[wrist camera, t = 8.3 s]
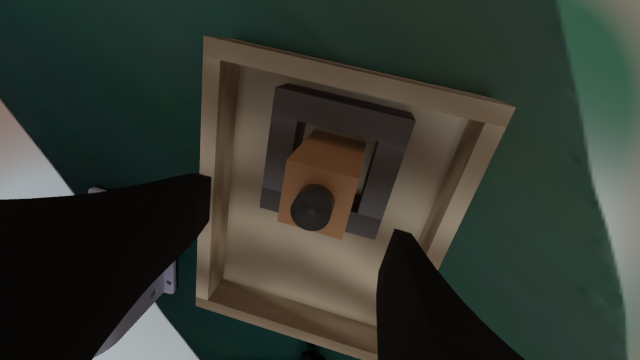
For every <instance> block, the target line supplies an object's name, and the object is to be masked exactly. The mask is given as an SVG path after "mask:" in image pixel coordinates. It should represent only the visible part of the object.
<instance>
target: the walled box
mask: <svg viewBox="0 0 640 360" xmlns="http://www.w3.org/2000/svg"><path fill="white" fill-rule="evenodd" d="M515 109H516V107H514V106H511V105H509V104H506V103H504V102H501V101H498V100H496V99H493V98H491V97H486V96H482V95H477V94H473V93H469V92H464V91H460V90H456V89H451V88H447V87H442V86H438V85H434V84H429V83H425V82H420V81H416V80H412V79H407V78H403V77H399V76H394V75H390V74H385V73H381V72H377V71H372V70H368V69H364V68H359V67H355V66H350V65H346V64H342V63H337V62H333V61H329V60H324V59H320V58H315V57H311V56H307V55H302V54H298V53H293V52H289V51H285V50H280V49H276V48H272V47H267V46H263V45H258V44H254V43H250V42H245V41H241V40H237V39H230V38H221V37H211V36H204V40H203V74H202V108H201V142H200V174H203V175H206V176H210V177H212V180H211V199H210V218H209V222H208V224H207V225H206V226H205V228H204V229H203V231H202V232H201V233H200V235H199V236H198V245H197V279H196V306H198V307H201V308H205V309H208V310H211V311H214V312H217V313H220V314H223V315H226V316H229V317H232V318H235V319H238V320H242V321H245V322H248V323H251V324H254V325H257V326H260V327H263V328H266V329H269V330H272V331H275V332H278V333H282V334H285V335H288V336H291V337H294V338H297V339H300V340H303V341H306V342H309V343H312V344H315V345H319V346H322V347H325V348H328V349H331V350H334V351H337V352H340V353H343V354H346V355H349V356H352V357H355V358H359V359H362V360H378V351H377V318H376V290H377V280H378V271H379V268H380V266H381V263H382V260H383V258H384V255H385V252H386V250H387V247H388V244H389V242H390V239H391V236H392V234H393V231H394V228H395V229H399V230H402V231H406V232H409V233H411V234H412V235H413V236H414V238H415V239H416V240H417V242H418V243H419V245H420V246H421V248H422V249H423V251H424V252H425V253H426V255H427V256H428V258H429V259H430V261H431V262H432V263H433V265H434V266H435V267H436V269H437V270H438V269H439V267H440V265H441V263H442V260H443V258H444V256H445V254H446V252H447V250H448V248H449V246H450V244H451V242H452V240H453V238H454V235H455V233H456V231H457V229H458V227H459V225H460V223H461V221H462V219H463V217H464V215H465V213H466V211H467V208H468V206H469V204H470V202H471V200H472V198H473V196H474V194H475V192H476V190H477V188H478V186H479V183H480V181H481V179H482V177H483V175H484V173H485V171H486V169H487V167H488V165H489V163H490V161H491V158H492V156H493V154H494V152H495V150H496V148H497V146H498V144H499V142H500V140H501V138H502V136H503V133H504V131H505V129H506V127H507V125H508V123H509V121H510V119H511V117H512V115H513V113H514V111H515ZM314 129H315V130H319V131H323V132H327V133H331V134H335V135H339V136H343V137H347V138H351V139H355V140H359V141H363V142H366V147H365V153H364V158H363V163H362V169H361V174H360V179H359V183H358V186H357V190H356V193H355V197H354V200H353V204H352V207H351V211H350V214H349V218H348V221H347V225H346V229H345V232H344V236H343V239H342V240H341V239H337V238H334V237H330V236H327V235H323V234H320V233H316V232H313V231H307V230H304V229H302V228H299V227H295V226H292V225H288V224H285V223H281V222H278V221H277V218H278V211H279V205H280V199H281V193H282V187H283V180H284V174H285V168H286V162H287V159H288V158H289V157H290V156H291V154H292V153H293V152H294V151H295V150H296V149H297V148H298V147H299V146H300V145H301V144H302V142H303V141H304V140H305V139H306V138H307V137H308V136H309V135H310V134H311V133H312V132H313V130H314Z"/></svg>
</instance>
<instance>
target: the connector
mask: <svg viewBox="0 0 640 360" xmlns="http://www.w3.org/2000/svg"><path fill="white" fill-rule="evenodd" d="M365 147H366V142H363V141H359V140H355V139H351V138H347V137H343V136H339V135H335V134H331V133H327V132H323V131H319V130H315V129H314V130H313V132H312V133H311V134H310V135H309V136H308V137H307V138H306V139H305V140H304V141H303V142H302V144H301V145H300V146H299V147H298V148H297V149H296V150H295V151H294V152H293V153H292V154H291V156H290V157H289V158H288V159H287V162H286V168H285V174H284V180H283V187H282V193H281V199H280V205H279V211H278V218H277V221H278V222H281V223H285V224H288V225H292V226H295V227H299V228H302V229H304V230H307V231H313V232H316V233H320V234H323V235H327V236H330V237H334V238H337V239H341V240H342V239H343V236H344V232H345V229H346V225H347V221H348V218H349V214H350V211H351V207H352V204H353V200H354V197H355V193H356V190H357V186H358V183H359V179H360V174H361V169H362V163H363V158H364V153H365Z"/></svg>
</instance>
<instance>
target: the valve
mask: <svg viewBox="0 0 640 360" xmlns="http://www.w3.org/2000/svg"><path fill="white" fill-rule="evenodd" d="M301 360H326V359H325V358H324V357H319V358H316V355H315V352H314V351H312V350H311V351H306V352H303V353H302V355H301Z"/></svg>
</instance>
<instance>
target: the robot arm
mask: <svg viewBox="0 0 640 360" xmlns="http://www.w3.org/2000/svg"><path fill="white" fill-rule="evenodd" d="M211 180H212V177H210V176H206V175H203V174H199V173H193V174H186V175H181V176H176V177H172V178H167V179H163V180H158V181H154V182H149V183H145V184H140V185H135V186H130V187H125V188H120V189H114V190H109V191H107V190H104V189H100V188H97V187H92V188H90V189H89V190H88V194H80V195H72V196H60V197H47V198H32V199H9V200H0V360H92V359H93V358H94V357H96V356H98V355H100V354H102V353H103V352H105V351H106V350H108V349H109V348H111V347H112V346H113V345H114V344H116V343H117V342H118V341H119V340H120V339H121V338H122V337H123V335H124V334H125V333H126V332H127V331H128V330H129V329H130V328H131V327H132V326H133V325H134V324H135V323H136V321H137V320H138V319H139V318H140V317H141V316H142V315H143V314H144V313H145V312H146V311H147V310H148V308H149V307H150V306H151V305H152V304H153V303H154V302H155V301H156V300H157V299H158V298H159V297H160V295H161V294H162V293H163V292H165V293H168V294H173V293H174V292H175V291H176V259H177V258H178V257H179V256H180V255H181V254H182V253H183V252H184V251H185V250H186V249H187V248H188V247H189V246H190V245H191V244H192V243H193V242H194V241H195V240H196V238H197V237H198V236H199V235H200V233H201V232H202V231H203V229H204V228H205V226H206V225H207V224H208V222H209V218H210V199H211ZM376 318H377V351H378V360H525V359H524V358H522V357H521V356H520V355H519V354H518V353H516V352H515V351H514V350H513V349H512V348H511V347H509V346H508V345H507V344H506V343H505V342H504V341H503V340H502V339H501V338H500V337H498V336H497V335H496V334H495V333H494V332H493V331H492V330H491V329H490V328H489V327H488V326H487V325H486V324H485V323H483V322H482V321H481V320H480V319H479V317H478V316H477V315H476V314H475V313H474V312H473V311H472V310H471V309H470V308H469V307H468V306H467V305H466V304H465V303H464V302H463V301H462V299H461V298H460V297H459V296H458V295H457V294H456V293H455V291H454V290H453V289H452V288H451V287H450V285H449V284H448V283H447V282H446V281H445V279H444V278H443V277H442V275H441V274H440V273H439V271H438V270H437V269H436V267H435V266H434V265H433V263H432V262H431V261H430V259H429V258H428V256H427V255H426V253H425V252H424V251H423V249H422V248H421V246H420V245H419V243H418V242H417V240H416V239H415V238H414V236H413V235H412V234H411V233H409V232H406V231H402V230H399V229H395V228H394V231H393V234H392V236H391V239H390V242H389V244H388V247H387V250H386V252H385V255H384V258H383V260H382V263H381V266H380V268H379V271H378V280H377V290H376Z"/></svg>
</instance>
